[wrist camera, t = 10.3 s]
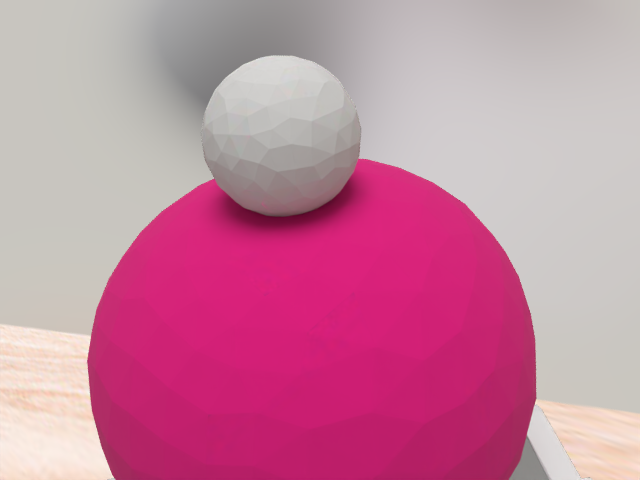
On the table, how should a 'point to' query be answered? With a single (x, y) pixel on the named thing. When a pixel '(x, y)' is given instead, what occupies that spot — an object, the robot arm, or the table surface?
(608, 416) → the table surface
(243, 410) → the pepper mill
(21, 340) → the table surface
